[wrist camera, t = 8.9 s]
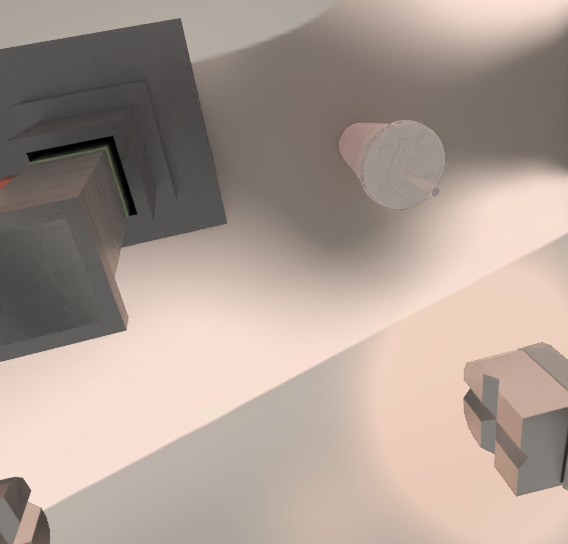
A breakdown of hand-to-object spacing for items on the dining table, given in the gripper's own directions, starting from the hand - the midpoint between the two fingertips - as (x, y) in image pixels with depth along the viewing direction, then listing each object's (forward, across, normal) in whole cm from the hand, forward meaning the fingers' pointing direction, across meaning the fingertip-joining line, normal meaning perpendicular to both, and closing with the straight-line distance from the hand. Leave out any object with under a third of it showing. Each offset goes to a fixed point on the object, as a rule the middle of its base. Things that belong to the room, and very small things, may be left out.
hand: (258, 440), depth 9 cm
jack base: (+35, +8, 0) cm, 36 cm away
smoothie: (+36, -13, +4) cm, 38 cm away
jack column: (+27, +7, 0) cm, 28 cm away
